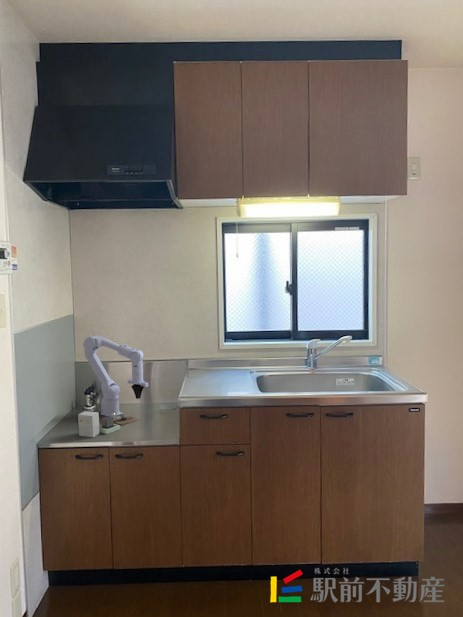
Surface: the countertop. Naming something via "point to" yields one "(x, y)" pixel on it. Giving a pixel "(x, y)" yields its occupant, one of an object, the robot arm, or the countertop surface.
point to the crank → (118, 416)
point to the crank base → (125, 420)
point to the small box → (88, 424)
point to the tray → (110, 430)
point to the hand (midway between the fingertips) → (138, 398)
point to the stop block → (107, 422)
